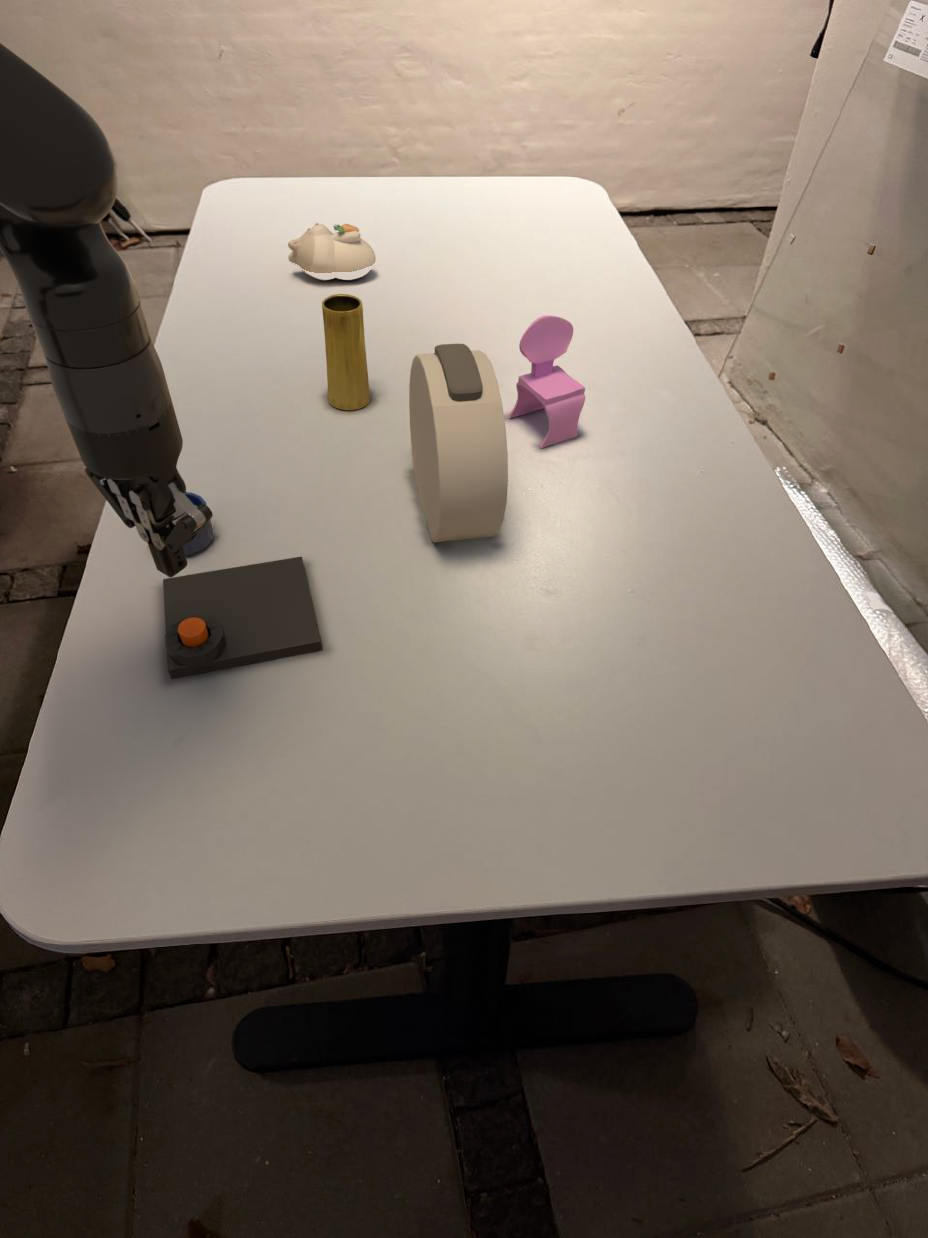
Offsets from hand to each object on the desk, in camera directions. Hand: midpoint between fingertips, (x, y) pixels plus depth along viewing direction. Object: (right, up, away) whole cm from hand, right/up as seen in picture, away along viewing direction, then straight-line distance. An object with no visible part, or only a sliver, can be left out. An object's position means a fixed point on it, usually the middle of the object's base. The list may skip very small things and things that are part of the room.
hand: (173, 569), depth 70 cm
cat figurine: (+3, +56, +68) cm, 88 cm away
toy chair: (+37, +22, +39) cm, 58 cm away
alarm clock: (+25, +10, +27) cm, 38 cm away
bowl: (-6, +5, +20) cm, 22 cm away
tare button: (0, -6, +7) cm, 9 cm away
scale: (+3, -4, +13) cm, 14 cm away
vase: (+10, +27, +42) cm, 51 cm away
